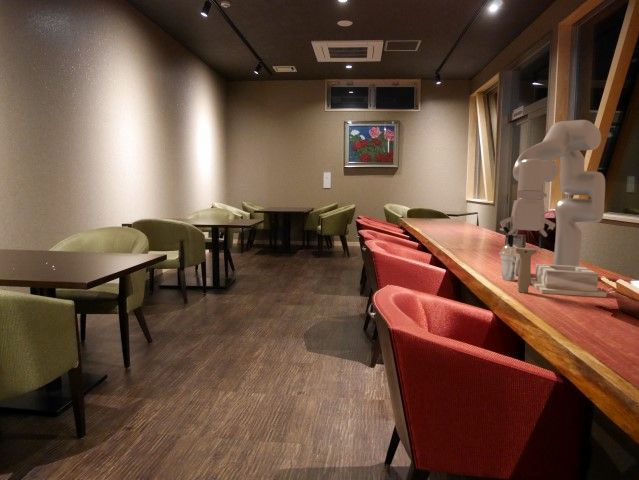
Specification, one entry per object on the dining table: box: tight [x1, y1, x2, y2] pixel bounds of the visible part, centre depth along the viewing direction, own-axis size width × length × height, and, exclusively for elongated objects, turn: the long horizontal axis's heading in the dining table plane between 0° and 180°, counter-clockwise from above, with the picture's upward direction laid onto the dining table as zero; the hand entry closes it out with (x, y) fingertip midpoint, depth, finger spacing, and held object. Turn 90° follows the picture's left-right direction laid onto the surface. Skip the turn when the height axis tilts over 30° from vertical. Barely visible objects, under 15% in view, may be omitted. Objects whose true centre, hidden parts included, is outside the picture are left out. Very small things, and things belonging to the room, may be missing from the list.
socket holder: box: [530, 263, 607, 298], centre depth 173 cm, size 22×20×7 cm
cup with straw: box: [498, 227, 520, 282], centre depth 188 cm, size 8×9×20 cm
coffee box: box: [504, 233, 527, 276], centre depth 202 cm, size 9×6×16 cm
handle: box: [516, 247, 537, 294], centre depth 165 cm, size 5×6×15 cm
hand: (525, 247), depth 164 cm, fingers open, 9 cm apart
